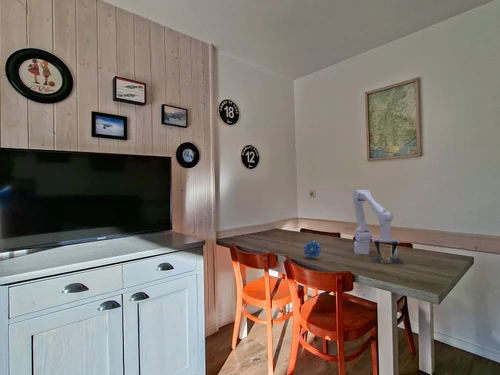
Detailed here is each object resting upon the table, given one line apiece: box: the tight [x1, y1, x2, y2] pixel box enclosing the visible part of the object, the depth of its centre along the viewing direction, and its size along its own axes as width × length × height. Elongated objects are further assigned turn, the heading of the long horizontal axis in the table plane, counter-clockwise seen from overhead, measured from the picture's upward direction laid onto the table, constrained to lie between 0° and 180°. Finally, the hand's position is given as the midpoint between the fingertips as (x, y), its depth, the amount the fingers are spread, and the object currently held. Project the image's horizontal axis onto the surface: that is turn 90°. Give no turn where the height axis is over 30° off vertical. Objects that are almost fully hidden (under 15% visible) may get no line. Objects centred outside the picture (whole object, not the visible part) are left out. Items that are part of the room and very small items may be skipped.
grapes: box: [303, 240, 322, 260], centre depth 171 cm, size 12×7×12 cm, turn 63°
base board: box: [370, 255, 404, 265], centre depth 162 cm, size 16×16×2 cm
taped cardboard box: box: [380, 251, 391, 261], centre depth 159 cm, size 4×4×5 cm
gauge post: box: [390, 244, 398, 260], centre depth 165 cm, size 3×3×8 cm
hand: (385, 254), depth 159 cm, fingers open, 7 cm apart
